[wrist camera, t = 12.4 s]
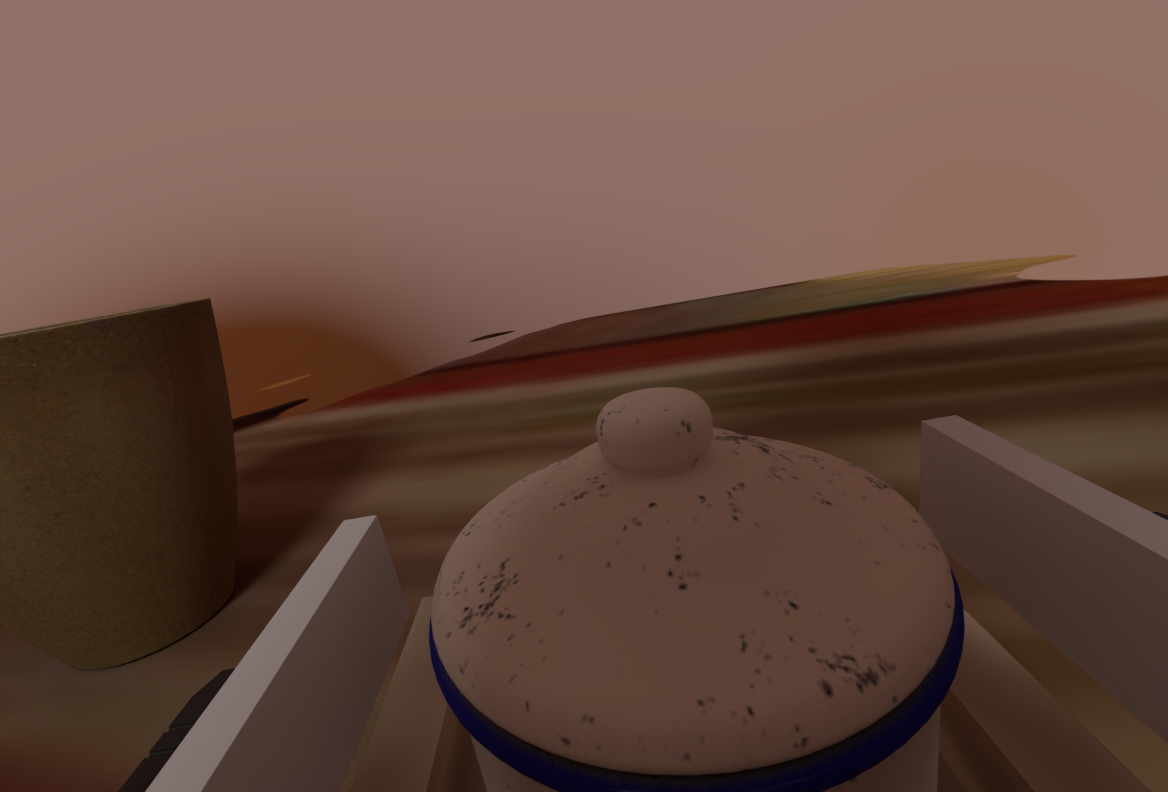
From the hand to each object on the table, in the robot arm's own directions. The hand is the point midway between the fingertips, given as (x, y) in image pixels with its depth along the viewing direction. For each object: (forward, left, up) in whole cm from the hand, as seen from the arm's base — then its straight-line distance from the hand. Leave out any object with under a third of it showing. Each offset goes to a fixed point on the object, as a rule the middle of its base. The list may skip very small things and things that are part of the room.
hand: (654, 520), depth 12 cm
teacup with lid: (+1, +3, -8) cm, 9 cm away
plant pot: (+26, -14, -10) cm, 31 cm away
